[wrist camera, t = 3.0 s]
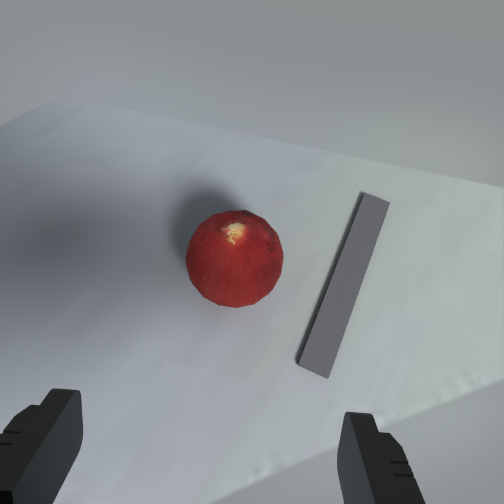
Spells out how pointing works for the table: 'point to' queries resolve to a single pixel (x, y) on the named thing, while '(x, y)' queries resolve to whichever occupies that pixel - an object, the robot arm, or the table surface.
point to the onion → (234, 258)
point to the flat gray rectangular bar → (344, 287)
